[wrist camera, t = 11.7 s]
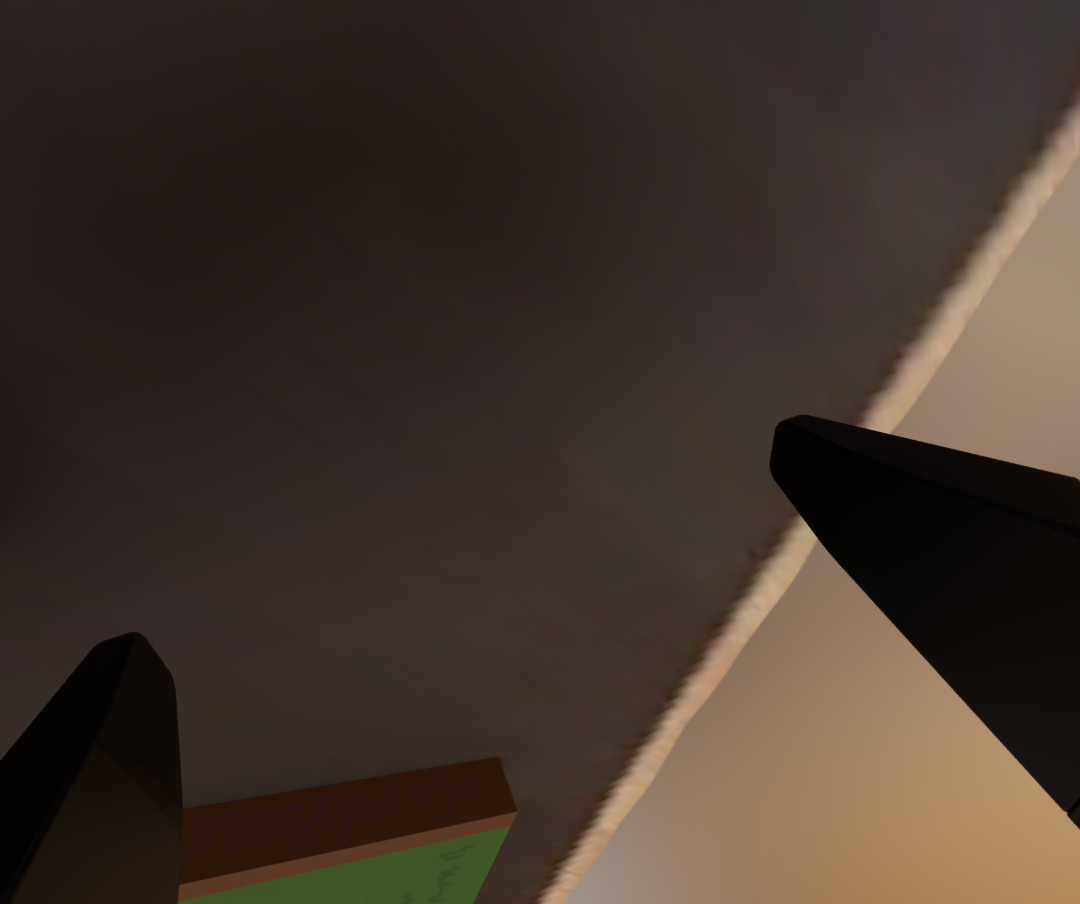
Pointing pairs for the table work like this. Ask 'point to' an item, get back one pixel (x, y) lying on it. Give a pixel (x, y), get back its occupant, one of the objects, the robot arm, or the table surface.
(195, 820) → the hardcover book
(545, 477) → the table surface
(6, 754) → the robot arm
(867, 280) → the table surface
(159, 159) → the table surface
